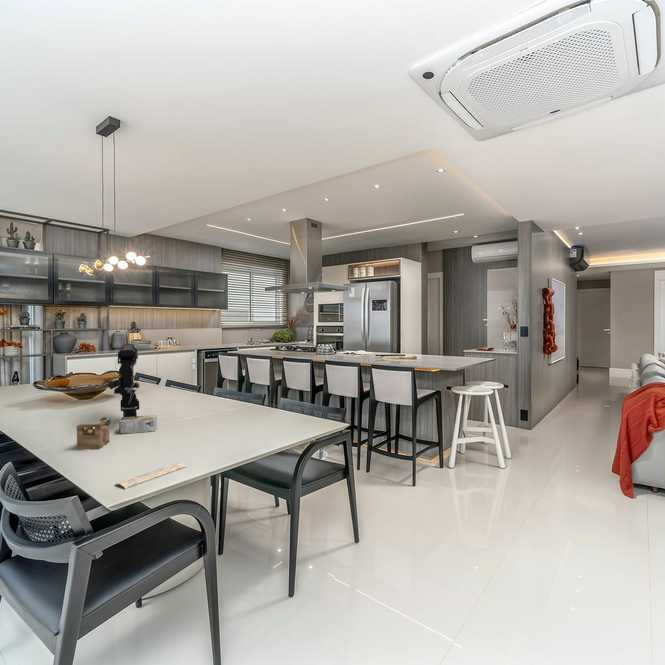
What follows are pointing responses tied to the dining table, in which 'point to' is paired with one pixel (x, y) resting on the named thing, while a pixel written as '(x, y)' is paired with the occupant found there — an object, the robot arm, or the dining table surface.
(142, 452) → the dining table surface
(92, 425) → the mount
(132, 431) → the coffee box
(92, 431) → the lock pin
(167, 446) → the dining table surface
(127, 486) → the beige curved strip
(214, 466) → the dining table surface
